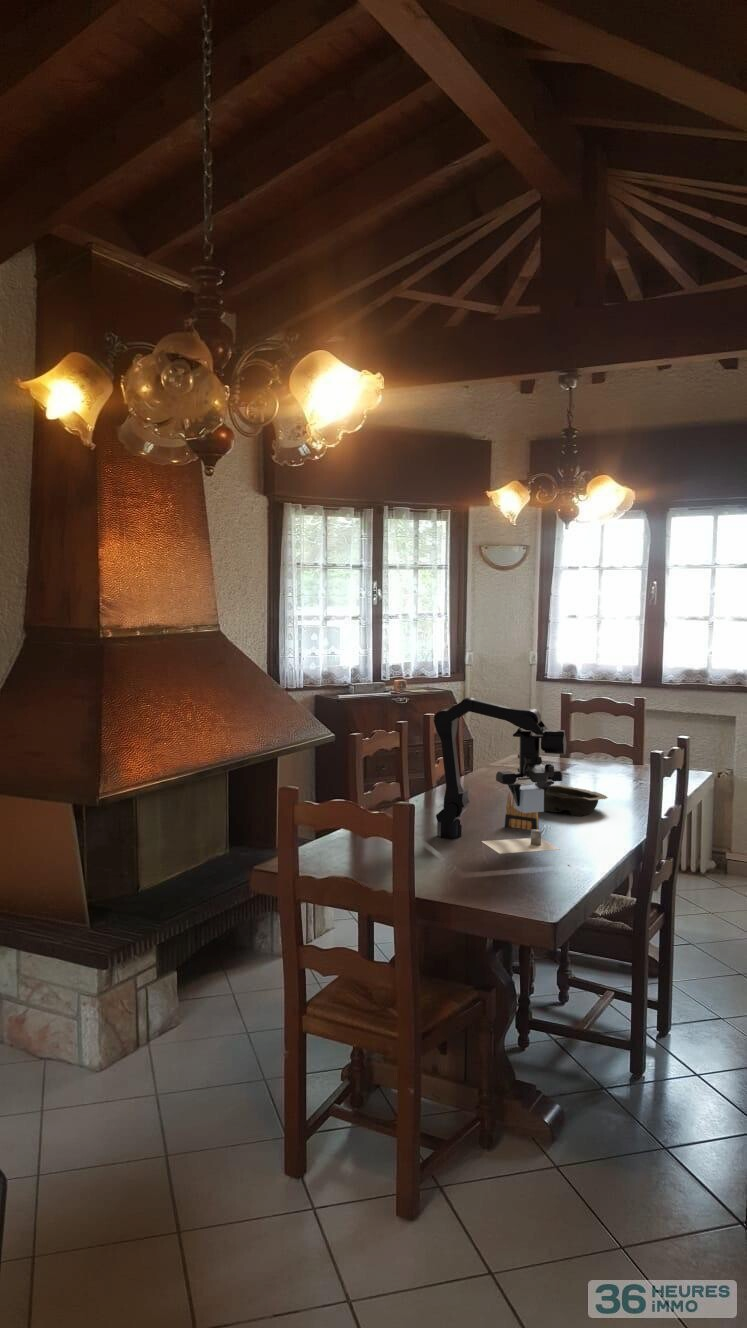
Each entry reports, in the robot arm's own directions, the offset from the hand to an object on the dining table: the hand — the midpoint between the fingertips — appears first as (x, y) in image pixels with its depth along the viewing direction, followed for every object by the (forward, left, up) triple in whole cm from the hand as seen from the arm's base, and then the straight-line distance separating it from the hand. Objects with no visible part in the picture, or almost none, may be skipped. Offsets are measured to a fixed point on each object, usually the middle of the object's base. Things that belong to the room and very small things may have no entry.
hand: (528, 805), depth 263 cm
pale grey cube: (0, 0, -1) cm, 1 cm away
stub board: (-2, 0, -13) cm, 13 cm away
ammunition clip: (+7, +18, -13) cm, 24 cm away
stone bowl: (+36, +40, -13) cm, 56 cm away
